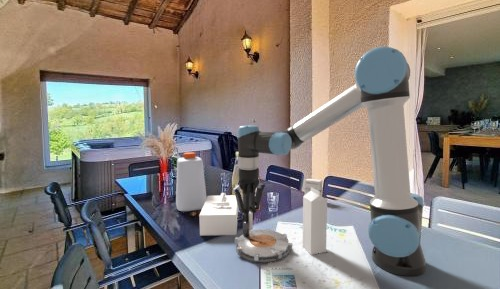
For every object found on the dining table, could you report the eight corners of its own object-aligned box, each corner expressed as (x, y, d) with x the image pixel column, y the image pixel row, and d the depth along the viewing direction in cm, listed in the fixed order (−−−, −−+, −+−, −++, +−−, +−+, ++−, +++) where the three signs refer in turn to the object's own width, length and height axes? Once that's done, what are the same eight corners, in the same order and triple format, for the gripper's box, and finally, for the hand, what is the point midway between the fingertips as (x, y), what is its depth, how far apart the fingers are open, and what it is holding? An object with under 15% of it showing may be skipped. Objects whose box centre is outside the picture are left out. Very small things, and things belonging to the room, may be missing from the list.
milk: (310, 255, 93) (311, 192, 90) (302, 246, 99) (302, 187, 96) (326, 252, 95) (327, 190, 92) (317, 244, 100) (318, 185, 98)
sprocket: (300, 242, 100) (300, 224, 99) (271, 267, 84) (271, 246, 83) (256, 229, 111) (256, 213, 110) (224, 248, 96) (223, 230, 95)
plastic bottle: (203, 200, 152) (202, 150, 148) (208, 209, 137) (206, 154, 134) (175, 203, 147) (173, 151, 143) (177, 213, 133) (174, 156, 129)
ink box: (322, 201, 148) (323, 179, 146) (319, 203, 144) (320, 181, 142) (307, 198, 152) (307, 177, 151) (304, 201, 148) (304, 179, 147)
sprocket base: (301, 253, 94) (301, 250, 94) (253, 269, 85) (253, 267, 85) (270, 232, 111) (270, 230, 111) (227, 244, 101) (227, 242, 101)
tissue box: (200, 236, 109) (199, 209, 107) (208, 212, 134) (207, 191, 132) (236, 235, 109) (235, 209, 108) (237, 212, 134) (237, 190, 132)
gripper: (258, 163, 107) (258, 221, 110) (228, 167, 100) (229, 228, 104) (269, 167, 100) (269, 228, 103) (237, 171, 94) (238, 236, 97)
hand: (249, 228), depth 104 cm, fingers closed
